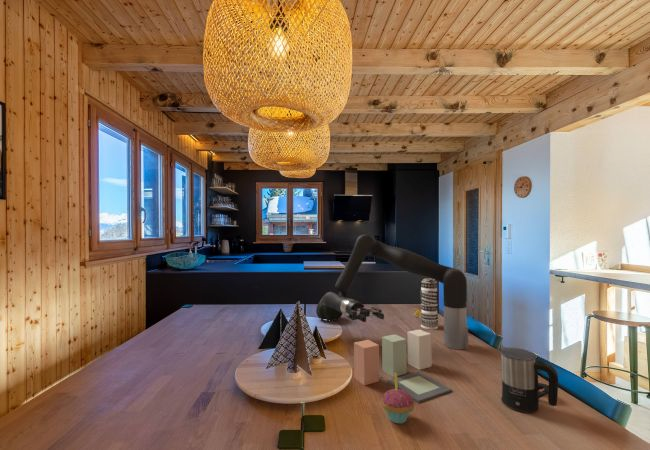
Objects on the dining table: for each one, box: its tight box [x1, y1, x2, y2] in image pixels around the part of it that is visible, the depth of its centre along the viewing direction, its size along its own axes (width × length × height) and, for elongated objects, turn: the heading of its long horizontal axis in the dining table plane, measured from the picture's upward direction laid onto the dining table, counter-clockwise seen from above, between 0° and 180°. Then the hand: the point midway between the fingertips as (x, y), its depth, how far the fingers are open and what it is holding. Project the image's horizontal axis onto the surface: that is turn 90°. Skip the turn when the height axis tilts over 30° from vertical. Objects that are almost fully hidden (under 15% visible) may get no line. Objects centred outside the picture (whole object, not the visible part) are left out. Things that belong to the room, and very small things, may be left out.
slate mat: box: [387, 371, 453, 404], centre depth 100 cm, size 14×14×1 cm
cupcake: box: [381, 370, 415, 424], centre depth 83 cm, size 9×8×12 cm
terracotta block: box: [353, 339, 380, 386], centre depth 105 cm, size 6×6×12 cm
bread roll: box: [413, 309, 422, 319], centre depth 181 cm, size 8×9×4 cm
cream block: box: [406, 328, 432, 371], centre depth 116 cm, size 6×6×12 cm
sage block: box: [381, 334, 408, 378], centre depth 111 cm, size 6×6×12 cm
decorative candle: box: [419, 277, 439, 330], centre depth 163 cm, size 9×9×25 cm
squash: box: [316, 295, 343, 322], centre depth 177 cm, size 14×15×15 cm
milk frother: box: [499, 347, 559, 414], centre depth 92 cm, size 14×16×15 cm
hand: (374, 318), depth 121 cm, fingers open, 8 cm apart
